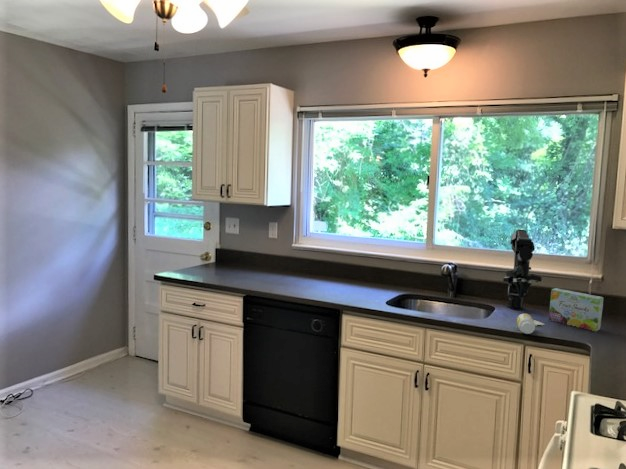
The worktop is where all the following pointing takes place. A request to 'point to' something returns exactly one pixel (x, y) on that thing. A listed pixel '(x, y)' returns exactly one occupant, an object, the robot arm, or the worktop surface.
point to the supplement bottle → (525, 323)
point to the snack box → (576, 309)
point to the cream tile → (538, 323)
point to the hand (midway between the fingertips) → (520, 297)
